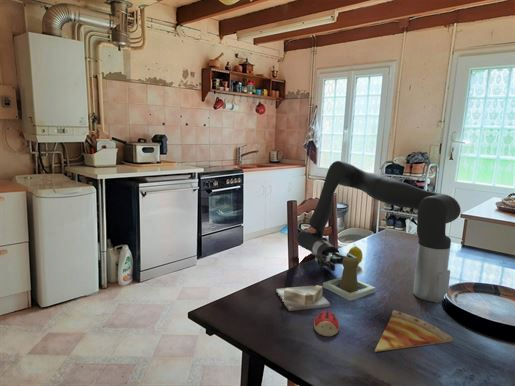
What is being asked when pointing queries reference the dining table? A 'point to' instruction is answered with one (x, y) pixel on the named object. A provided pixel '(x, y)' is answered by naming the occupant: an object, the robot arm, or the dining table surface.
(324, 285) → the block
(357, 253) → the lemon
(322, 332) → the ladybug figurine
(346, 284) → the olive tall tapered post
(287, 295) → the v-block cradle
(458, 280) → the dining table surface
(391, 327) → the pizza slice
